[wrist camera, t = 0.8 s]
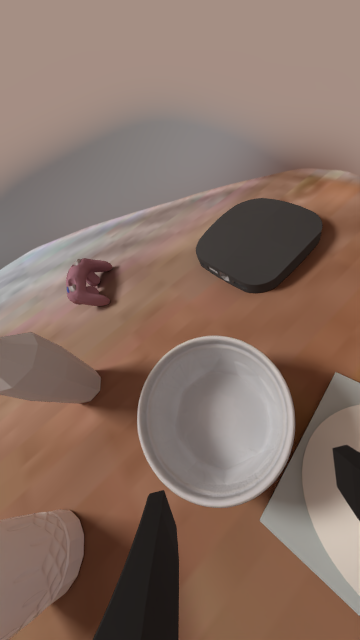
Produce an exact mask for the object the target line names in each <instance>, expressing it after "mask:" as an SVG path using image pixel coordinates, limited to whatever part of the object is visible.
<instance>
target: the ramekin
mask: <svg viewBox="0 0 360 640" xmlns="http://www.w3.org/2000/svg"><path fill="white" fill-rule="evenodd" d="M137 426H138V434H139V439H140V443H141V446H142V449H143V452H144V454H145V457H146V459H147V461H148V463H149V465H150V466H151V468H152V469H153V471H154V472H155V474H156V475H157V477H158V478H159V479H160V480H161V481H162V483H164V484H165V485H166V486H167V487H168V488H169V489H170V490H171V491H172V492H174V493H175V494H177V495H178V496H180V497H181V498H183V499H185V500H187V501H189V502H192V503H195V504H198V505H201V506H205V507H213V508H226V507H232V506H236V505H240V504H243V503H245V502H248V501H250V500H252V499H254V498H256V497H257V496H259V495H260V494H261V493H263V492H264V491H265V490H266V489H268V488H269V487H270V486H271V485H272V484H273V483H274V481H275V480H276V479H277V478H278V476H279V475H280V473H281V472H282V470H283V469H284V467H285V465H286V463H287V461H288V458H289V456H290V453H291V449H292V446H293V441H294V435H295V412H294V405H293V401H292V397H291V394H290V391H289V388H288V386H287V384H286V382H285V380H284V378H283V376H282V374H281V373H280V371H279V370H278V369H277V367H276V366H275V365H274V364H273V362H272V361H271V360H270V359H269V358H268V357H267V356H265V355H264V354H263V353H262V352H261V351H259V350H258V349H256V348H255V347H253V346H251V345H250V344H248V343H245V342H243V341H241V340H238V339H234V338H230V337H225V336H205V337H199V338H195V339H191V340H189V341H186V342H184V343H182V344H180V345H178V346H176V347H175V348H173V349H172V350H171V351H169V352H168V353H167V354H166V355H164V356H163V357H162V358H161V359H160V360H159V362H158V363H157V364H156V365H155V367H154V368H153V369H152V371H151V372H150V374H149V375H148V378H147V379H146V381H145V383H144V386H143V389H142V391H141V395H140V399H139V404H138V413H137Z"/></svg>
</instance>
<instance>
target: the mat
mask: <svg viewBox="0 0 360 640" xmlns="http://www.w3.org/2000/svg"><path fill="white" fill-rule="evenodd" d="M359 404H360V383H358V382H356V381H354V380H352V379H350V378H348V377H345V376H343V375H341V374H339V373H337V372H336V373H335V374H334V376H333V378H332V380H331V382H330V384H329V386H328V388H327V390H326V392H325V394H324V396H323V398H322V400H321V401H320V403H319V405H318V407H317V409H316V411H315V413H314V415H313V417H312V419H311V421H310V423H309V425H308V427H307V429H306V431H305V433H304V435H303V437H302V438H301V440H300V442H299V444H298V446H297V448H296V450H295V452H294V454H293V456H292V458H291V460H290V462H289V464H288V466H287V468H286V470H285V472H284V473H283V475H282V477H281V479H280V481H279V483H278V485H277V487H276V489H275V491H274V493H273V495H272V497H271V499H270V501H269V503H268V505H267V507H266V508H265V510H264V512H263V514H262V516H261V518H260V521H261V522H262V523H263V524H264V525H265V526H266V527H267V528H268V529H269V530H270V531H271V532H272V533H273V534H274V535H275V536H276V537H277V538H278V539H279V540H280V541H282V542H283V543H284V544H285V545H286V546H287V547H288V548H289V549H290V550H291V551H292V552H293V553H294V554H295V555H296V556H297V557H298V558H299V559H300V560H302V561H303V562H304V563H305V564H306V565H307V566H308V567H309V568H310V569H311V570H312V571H313V572H314V573H315V574H316V575H317V576H318V577H319V578H320V579H321V580H323V581H324V582H325V583H326V584H327V585H328V586H329V587H330V588H331V589H332V590H333V591H334V592H335V593H336V594H337V595H338V596H339V597H340V598H341V599H342V600H344V601H345V602H346V603H347V604H348V605H349V606H350V607H351V608H352V609H353V610H354V611H355V612H356V613H357V614H358V615H359V616H360V596H359V595H358V594H357V592H356V591H355V590H354V589H353V588H352V587H351V585H350V584H349V583H348V582H347V581H346V580H345V578H344V577H343V575H342V574H341V573H340V571H339V570H338V569H337V567H336V566H335V564H334V563H333V562H332V560H331V558H330V557H329V555H328V553H327V552H326V550H325V548H324V547H323V545H322V543H321V541H320V539H319V537H318V535H317V533H316V531H315V529H314V526H313V524H312V521H311V519H310V516H309V513H308V510H307V506H306V503H305V499H304V494H303V487H302V472H301V471H302V460H303V456H304V451H305V448H306V446H307V443H308V441H309V439H310V437H311V435H312V434H313V432H314V431H315V429H316V428H317V427H318V426H319V425H320V424H321V423H322V422H323V421H324V420H325V419H327V418H328V417H329V416H331V415H333V414H334V413H336V412H338V411H340V410H343V409H345V408H348V407H351V406H355V405H359Z"/></svg>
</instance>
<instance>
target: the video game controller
mask: <svg viewBox="0 0 360 640" xmlns="http://www.w3.org/2000/svg"><path fill="white" fill-rule="evenodd" d="M110 270H112V265H111V264H110V263H108V262H106V261H100V260H92V259H86V258H83V259H78V260H77V261H76V262H74V264H73V265H72V266H71V268H70V269H69V271H68V274H67V278H66V286H67V296H68V298H69V300H70V301H72V302H73V303H75V304H79V305H80V304H85V305H92V306H103V305H107V304H109V302H110V300H109V298H107V297H106V296H103V295H99V292H98V290H97V289H96V288H95V286H97V285H98V284H99V283H100V278H99V277H98V276H97V275H96V274H95V272H106V271H110ZM86 282H87V283H88V284H89V285H91V286H88V287H86ZM93 286H94V287H93Z"/></svg>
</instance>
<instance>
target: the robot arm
mask: <svg viewBox="0 0 360 640" xmlns="http://www.w3.org/2000/svg"><path fill="white" fill-rule="evenodd" d="M332 449H333V458H334V467H335V475H336V484H337V488H338V489H339V491H340V492H341V494H342V496H343V497H344V499H345V500H346V502H347V503H348V505H349V506H350V508H351V509H352V511H353V512H354V514H355V515H356V517H357V518H358V520H359V521H360V452H358V451H356V450H355V449H353V448H352V447H350V446H348V445H343V446H339V447H335V448H332ZM178 615H179V556H178V541H177V528H176V524H175V521H174V518H173V515H172V512H171V509H170V506H169V504H168V501H167V498H166V495H165V492H164V490H163V491H159V492H155V493H150V494H149V496H148V498H147V502H146V505H145V508H144V511H143V515H142V518H141V521H140V524H139V527H138V530H137V533H136V535H135V538H134V541H133V544H132V547H131V549H130V552H129V555H128V557H127V560H126V563H125V565H124V568H123V571H122V573H121V576H120V578H119V580H118V583H117V585H116V588H115V590H114V593H113V595H112V598H111V600H110V602H109V605H108V607H107V609H106V612H105V614H104V616H103V619H102V621H101V623H100V625H99V627H98V630H97V632H96V634H95V636H94V638H93V640H178Z"/></svg>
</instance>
